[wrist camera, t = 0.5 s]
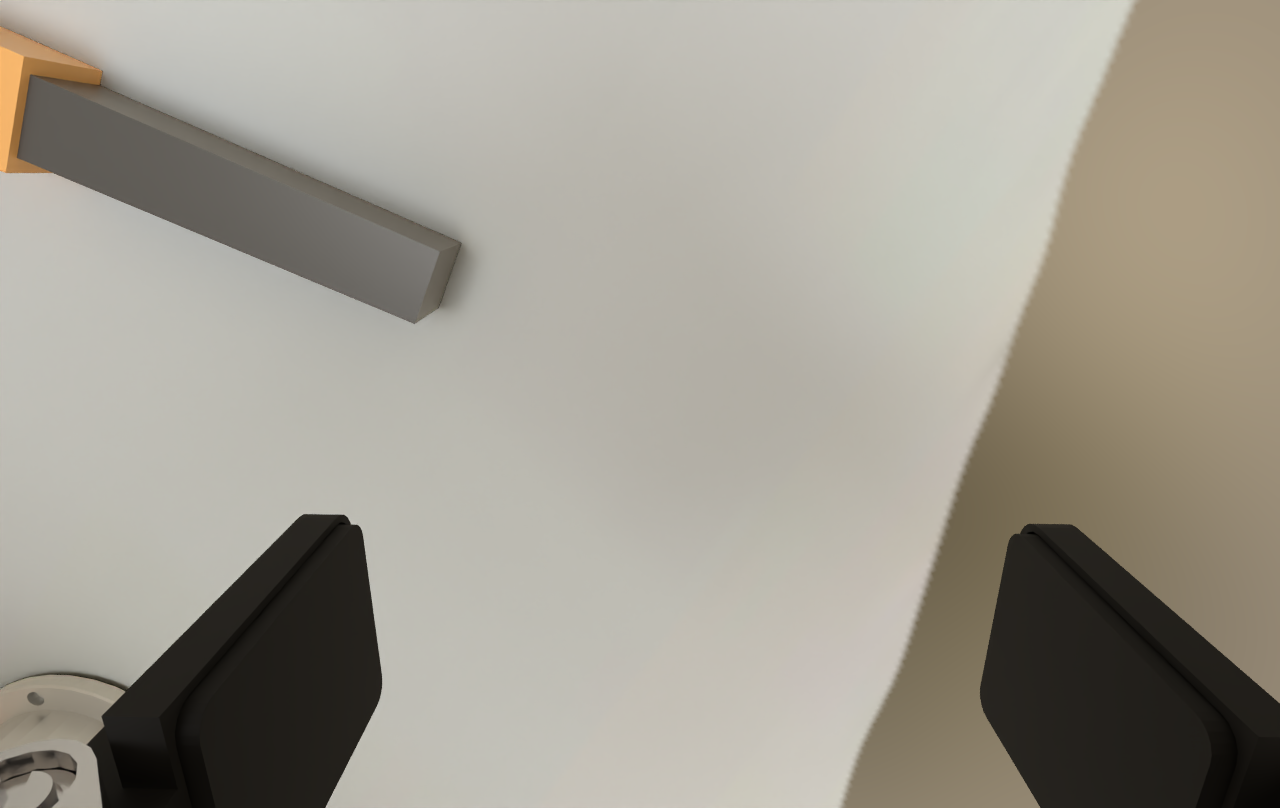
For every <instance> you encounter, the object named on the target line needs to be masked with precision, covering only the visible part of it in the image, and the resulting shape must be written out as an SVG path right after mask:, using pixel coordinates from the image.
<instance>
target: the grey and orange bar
mask: <svg viewBox="0 0 1280 808" xmlns="http://www.w3.org/2000/svg"><path fill="white" fill-rule="evenodd" d="M101 76H102V71H101V70H99V69H97V68H95V67H92V66H90V65H88V64H85V63H83V62H81V61H79V60H76V59H74V58H72V57H69V56H67V55H65V54H63V53H60V52H58V51H56V50H53V49H51V48H49V47H47V46H44V45H42V44H40V43H37V42H35V41H33V40H31V39H28V38H26V37H24V36H22V35H19V34H17V33H15V32H12V31H10V30H8V29H6V28H3V27H1V26H0V171H2V172H5V173H54V174H57V175H59V176H62V177H64V178H66V179H69V180H71V181H74V182H76V183H78V184H81V185H83V186H86V187H88V188H90V189H93V190H95V191H98V192H100V193H102V194H105V195H107V196H110V197H112V198H114V199H117V200H119V201H122V202H124V203H126V204H129V205H131V206H134V207H136V208H138V209H141V210H143V211H145V212H148V213H150V214H153V215H155V216H157V217H160V218H162V219H165V220H167V221H169V222H172V223H174V224H177V225H179V226H181V227H184V228H186V229H189V230H191V231H193V232H196V233H198V234H201V235H203V236H205V237H208V238H210V239H213V240H215V241H217V242H220V243H222V244H225V245H227V246H229V247H232V248H234V249H237V250H239V251H241V252H244V253H246V254H249V255H251V256H253V257H256V258H258V259H261V260H263V261H265V262H268V263H270V264H272V265H275V266H277V267H280V268H282V269H284V270H287V271H289V272H292V273H294V274H296V275H299V276H301V277H304V278H306V279H308V280H311V281H313V282H316V283H318V284H320V285H323V286H325V287H328V288H330V289H332V290H335V291H337V292H340V293H342V294H344V295H347V296H349V297H352V298H354V299H356V300H359V301H361V302H364V303H366V304H368V305H371V306H373V307H376V308H378V309H380V310H383V311H385V312H388V313H390V314H392V315H395V316H397V317H399V318H402V319H404V320H407V321H409V322H411V323H414V324H415V323H417V322H418V321H420V320H421V319H423V318H424V317H426V316H427V315H429V314H430V313H432V312H433V311H435V310H436V309H438V308H439V305H440V302H441V299H442V297H443V294H444V291H445V288H446V285H447V282H448V280H449V277H450V274H451V271H452V268H453V266H454V263H455V260H456V257H457V254H458V252H459V249H460V246H461V242H458V241H456V240H454V239H451V238H449V237H447V236H444V235H442V234H440V233H438V232H435V231H433V230H431V229H428V228H426V227H424V226H422V225H419V224H417V223H415V222H412V221H410V220H408V219H405V218H403V217H401V216H399V215H396V214H394V213H392V212H389V211H387V210H385V209H382V208H380V207H378V206H376V205H373V204H371V203H369V202H366V201H364V200H362V199H360V198H357V197H355V196H353V195H350V194H348V193H346V192H343V191H341V190H339V189H337V188H334V187H332V186H330V185H327V184H325V183H323V182H321V181H318V180H316V179H314V178H311V177H309V176H307V175H304V174H302V173H300V172H298V171H295V170H293V169H291V168H288V167H286V166H284V165H281V164H279V163H277V162H275V161H272V160H270V159H268V158H265V157H263V156H261V155H259V154H256V153H254V152H252V151H249V150H247V149H245V148H242V147H240V146H238V145H236V144H233V143H231V142H229V141H226V140H224V139H222V138H219V137H217V136H215V135H213V134H210V133H208V132H206V131H203V130H201V129H199V128H197V127H194V126H192V125H190V124H187V123H185V122H183V121H180V120H178V119H176V118H174V117H171V116H169V115H167V114H164V113H162V112H160V111H157V110H155V109H153V108H151V107H148V106H146V105H144V104H141V103H139V102H137V101H135V100H132V99H130V98H128V97H125V96H123V95H121V94H118V93H116V92H114V91H112V90H109V89H107V88H105V87H102V86H100V82H101Z"/></svg>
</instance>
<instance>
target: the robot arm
mask: <svg viewBox="0 0 1280 808" xmlns="http://www.w3.org/2000/svg"><path fill="white" fill-rule="evenodd" d="M381 689H382V673H381V666H380V658H379V651H378V643H377V636H376V629H375V621H374V614H373V607H372V599H371V592H370V585H369V577H368V570H367V562H366V555H365V548H364V540H363V534H362V530H361V528H360V527H359V526H358V525H351V523H350V521H349V519H348V517H346V516H345V515H320V514H303V515H302V516H301V517H299V518H298V519H297V520H296V521H295V522H294V523H293V524H292V525H291V526H290V527H289V528H288V529H287V530H286V531H285V532H284V533H283V534H282V535H281V536H280V537H279V538H278V539H277V540H276V541H275V542H274V543H273V544H272V545H271V546H270V547H269V548H268V549H267V550H266V551H265V552H264V553H263V554H262V555H261V556H260V557H259V558H258V559H257V560H256V561H255V562H254V563H253V564H252V565H251V566H250V567H249V568H248V569H247V570H246V571H245V572H244V573H243V574H242V575H241V576H240V577H239V578H238V579H237V580H236V581H235V582H234V583H233V584H232V585H231V586H230V587H229V588H228V589H227V590H226V591H225V592H224V593H223V594H222V595H221V596H220V597H219V598H218V599H217V600H216V601H215V602H214V603H213V604H212V605H211V606H210V607H209V608H208V609H207V610H206V611H205V612H204V613H203V614H202V615H201V616H200V617H199V619H198V620H197V621H196V622H195V623H194V624H193V625H192V626H191V627H190V628H189V629H188V630H187V631H186V632H185V633H184V634H183V635H182V636H181V637H180V638H179V639H178V640H177V641H176V642H175V643H174V644H173V645H172V646H171V647H170V648H169V649H168V650H167V651H166V652H165V653H164V654H163V655H162V656H161V657H160V658H159V659H158V660H157V661H156V662H155V663H154V664H153V665H152V666H151V667H150V668H149V669H148V670H147V671H146V672H145V673H144V674H143V675H142V676H141V677H140V678H139V679H138V680H137V681H136V682H135V683H134V684H133V685H132V686H131V687H130V688H129V689H128V690H127V691H124V690H122V689H120V688H118V687H115V686H112V685H109V684H106V683H103V682H100V681H97V680H94V679H88V678H83V677H77V676H72V675H43V676H36V677H28V678H25V679H22V680H19V681H16V682H13V683H10V684H8V685H6V686H5V687H3V688H1V689H0V808H325V807H326V805H327V803H328V801H329V799H330V797H331V795H332V793H333V791H334V789H335V787H336V785H337V783H338V781H339V779H340V777H341V775H342V774H343V772H344V770H345V768H346V766H347V764H348V762H349V760H350V758H351V756H352V754H353V752H354V750H355V748H356V746H357V744H358V742H359V740H360V738H361V736H362V734H363V732H364V730H365V728H366V726H367V724H368V722H369V720H370V718H371V716H372V715H373V713H374V711H375V709H376V707H377V704H378V702H379V699H380V695H381ZM980 699H981V704H982V708H983V711H984V713H985V715H986V717H987V719H988V721H989V722H990V724H991V726H992V727H993V729H994V731H995V732H996V734H997V736H998V737H999V739H1000V741H1001V742H1002V744H1003V746H1004V747H1005V749H1006V751H1007V752H1008V754H1009V755H1010V757H1011V759H1012V760H1013V762H1014V764H1015V766H1016V767H1017V769H1018V771H1019V772H1020V774H1021V776H1022V777H1023V779H1024V781H1025V782H1026V784H1027V786H1028V788H1029V789H1030V791H1031V793H1032V794H1033V796H1034V797H1035V799H1036V801H1037V803H1038V804H1039V806H1040V808H1280V703H1278V702H1277V701H1276V700H1275V699H1274V698H1273V697H1272V696H1270V695H1269V694H1268V693H1267V692H1266V691H1265V690H1263V689H1262V688H1261V687H1260V686H1259V685H1258V684H1257V683H1255V682H1254V681H1253V680H1252V679H1251V678H1250V677H1248V676H1247V675H1246V674H1245V673H1244V672H1243V671H1242V670H1240V669H1239V668H1238V667H1237V666H1236V665H1235V664H1233V663H1232V662H1231V661H1230V660H1229V659H1228V658H1227V657H1225V656H1224V655H1223V654H1222V653H1221V652H1220V651H1218V650H1217V649H1216V648H1215V647H1214V646H1213V645H1211V644H1210V643H1209V642H1208V641H1207V640H1206V639H1205V638H1204V637H1202V636H1201V635H1200V634H1199V633H1198V632H1197V631H1195V630H1194V629H1193V628H1192V627H1191V626H1190V625H1189V624H1187V623H1186V622H1185V621H1184V620H1182V618H1180V617H1179V616H1178V615H1177V614H1176V613H1175V612H1174V611H1172V610H1171V609H1170V608H1169V607H1168V606H1166V605H1165V604H1164V603H1163V602H1162V601H1161V600H1160V599H1158V598H1157V597H1156V596H1155V595H1154V594H1153V593H1152V592H1150V591H1149V590H1148V589H1147V588H1146V587H1145V586H1144V585H1142V584H1141V583H1140V582H1139V581H1138V580H1137V579H1135V578H1134V577H1133V576H1132V575H1131V574H1130V573H1129V572H1127V571H1126V570H1125V569H1124V568H1123V567H1122V566H1120V565H1119V564H1118V563H1117V562H1116V561H1115V560H1113V559H1112V558H1111V557H1110V556H1109V555H1108V554H1107V553H1105V552H1104V551H1103V550H1102V549H1101V548H1099V547H1098V546H1097V545H1096V544H1095V543H1094V542H1092V540H1090V539H1089V538H1088V537H1087V536H1086V535H1085V534H1084V533H1082V532H1081V531H1080V530H1079V529H1078V528H1076V527H1075V526H1073V525H1067V524H1066V525H1065V524H1028V525H1026V526H1025V527H1024V528H1023V529H1022V531H1021V533H1020V534H1014V535H1013V536H1012V537H1011V538H1010V540H1009V543H1008V547H1007V552H1006V558H1005V563H1004V568H1003V573H1002V579H1001V584H1000V589H999V594H998V599H997V604H996V609H995V614H994V619H993V624H992V630H991V635H990V640H989V645H988V650H987V656H986V660H985V665H984V671H983V676H982V681H981V686H980Z"/></svg>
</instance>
